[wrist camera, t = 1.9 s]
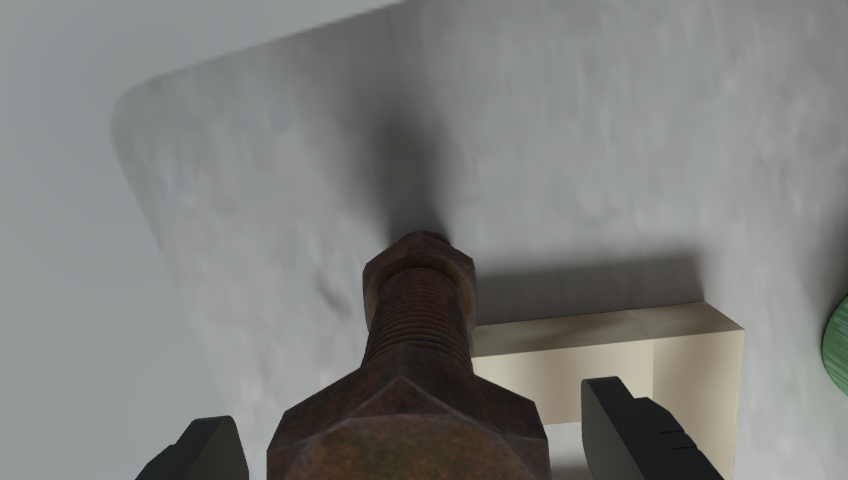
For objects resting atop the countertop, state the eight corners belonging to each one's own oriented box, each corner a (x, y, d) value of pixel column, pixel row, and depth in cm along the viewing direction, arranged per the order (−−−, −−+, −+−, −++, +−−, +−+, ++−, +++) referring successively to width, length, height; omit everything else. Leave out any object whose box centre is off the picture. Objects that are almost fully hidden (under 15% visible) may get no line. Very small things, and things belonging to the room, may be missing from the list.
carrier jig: (705, 301, 23) (745, 329, 20) (692, 542, 27) (722, 593, 25) (393, 334, 24) (388, 366, 21) (430, 564, 28) (430, 616, 25)
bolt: (366, 203, 22) (243, 394, 7) (471, 198, 22) (556, 382, 7) (376, 314, 23) (291, 648, 9) (474, 309, 23) (548, 641, 9)
